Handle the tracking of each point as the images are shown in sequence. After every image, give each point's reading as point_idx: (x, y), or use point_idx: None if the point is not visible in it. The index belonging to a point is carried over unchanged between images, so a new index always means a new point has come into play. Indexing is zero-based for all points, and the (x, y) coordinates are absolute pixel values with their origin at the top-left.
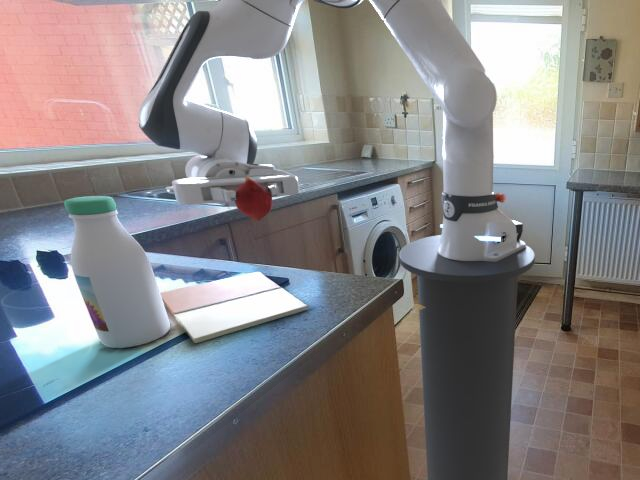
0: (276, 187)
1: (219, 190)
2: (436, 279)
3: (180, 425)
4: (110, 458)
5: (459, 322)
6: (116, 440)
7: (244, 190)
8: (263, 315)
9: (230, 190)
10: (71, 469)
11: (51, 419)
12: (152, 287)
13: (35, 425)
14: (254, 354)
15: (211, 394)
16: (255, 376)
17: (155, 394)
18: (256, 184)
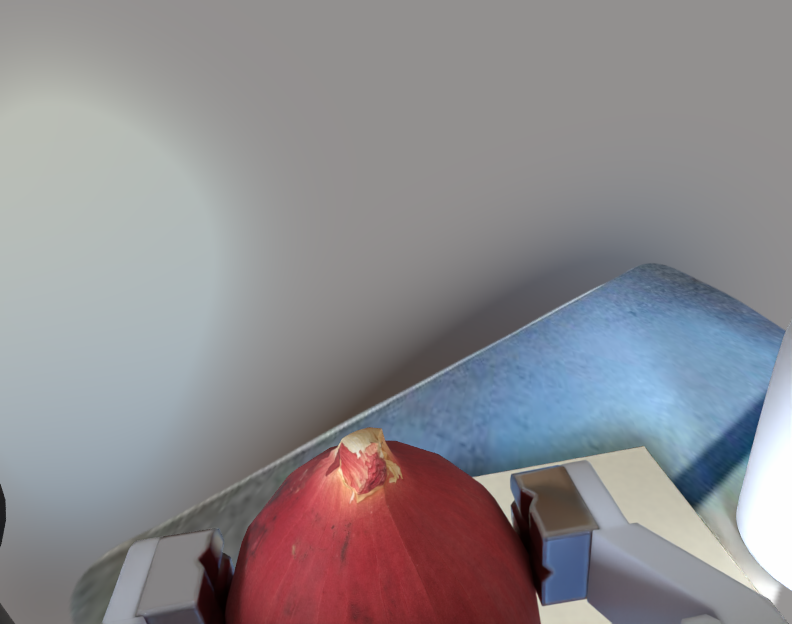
0: (147, 541)
1: (663, 544)
2: (5, 517)
3: (596, 309)
4: (651, 296)
5: (11, 622)
6: (659, 310)
7: (440, 456)
8: (498, 486)
9: (552, 493)
10: (682, 295)
11: (773, 353)
12: (763, 409)
13: None
14: (521, 388)
15: (573, 335)
16: (519, 346)
17: (651, 354)
18: (325, 451)
